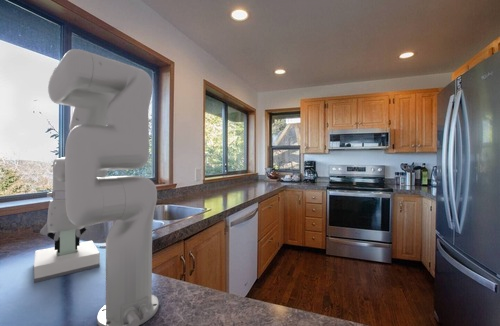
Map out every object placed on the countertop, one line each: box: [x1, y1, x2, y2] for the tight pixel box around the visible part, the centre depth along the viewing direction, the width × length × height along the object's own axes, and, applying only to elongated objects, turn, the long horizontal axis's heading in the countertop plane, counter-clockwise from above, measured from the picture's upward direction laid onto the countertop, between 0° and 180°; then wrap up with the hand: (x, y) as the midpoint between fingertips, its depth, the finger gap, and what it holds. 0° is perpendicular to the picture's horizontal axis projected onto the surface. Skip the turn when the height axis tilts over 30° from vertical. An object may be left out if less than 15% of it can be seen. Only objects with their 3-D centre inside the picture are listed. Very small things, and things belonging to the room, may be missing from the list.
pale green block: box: [59, 229, 75, 256], centre depth 79 cm, size 4×4×10 cm
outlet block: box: [33, 240, 101, 283], centre depth 79 cm, size 16×16×4 cm
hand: (67, 249), depth 79 cm, fingers closed on pale green block, 3 cm apart
